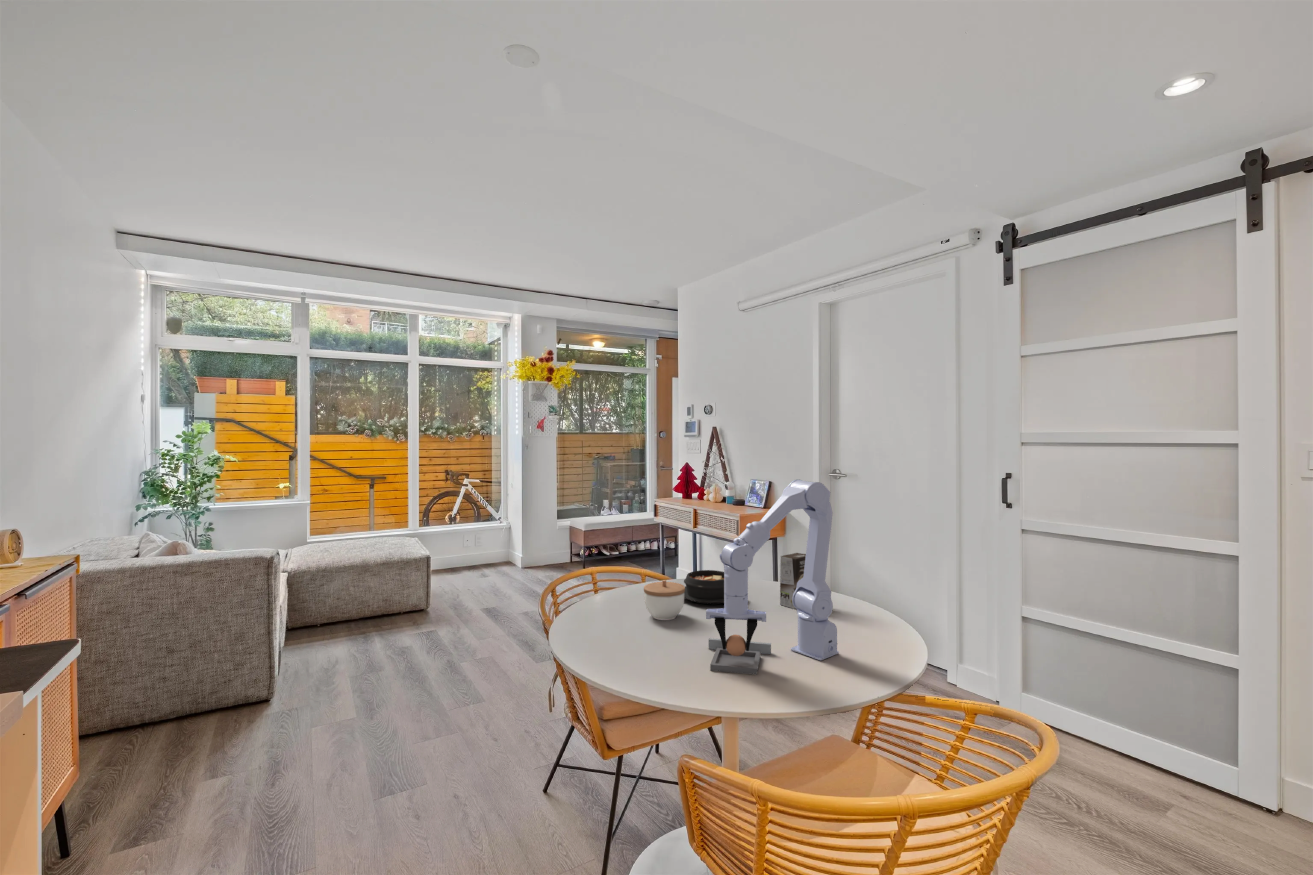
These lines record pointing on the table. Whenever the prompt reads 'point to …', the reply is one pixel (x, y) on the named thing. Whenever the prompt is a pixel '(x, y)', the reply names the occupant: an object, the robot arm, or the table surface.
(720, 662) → the coaster
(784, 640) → the table surface
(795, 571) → the coffee box
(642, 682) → the table surface
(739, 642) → the ball
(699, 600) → the casserole
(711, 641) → the divider
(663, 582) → the lidded bowl
